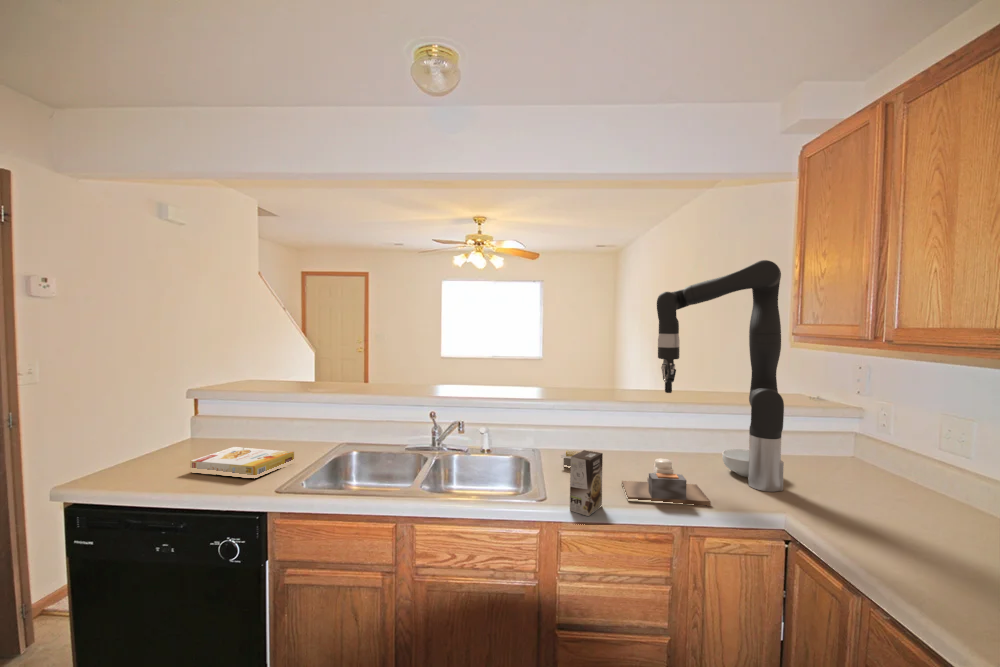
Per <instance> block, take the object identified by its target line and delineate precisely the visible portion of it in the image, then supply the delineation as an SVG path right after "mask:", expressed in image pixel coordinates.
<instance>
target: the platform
mask: <svg viewBox="0 0 1000 667" xmlns="http://www.w3.org/2000/svg"><path fill="white" fill-rule="evenodd" d="M568 452H569V450H567V449H566V451H565V453H563V454H560V458H562V459H563V466H564V465H567V466H571V456H573V455H575V454H577V453H579V452H580V451H575V450H573V451H570V453H568Z"/></svg>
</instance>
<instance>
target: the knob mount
mask: <svg viewBox="0 0 1000 667" xmlns="http://www.w3.org/2000/svg"><path fill="white" fill-rule="evenodd" d="M646 479H647V480H646V481H635V480H633V481H632V480H631V481H630V480H621V485H622V484H623V487H624V489H625V492H626V495H627V497H628V499H638V500H651V501H663V502H673V503H683V504H694V505H693V506H698V505H707V506H706V507H711V506H712V505H711V503H712V502H711V500H710V499H709V497H708V496H707V495H706V493H704V492H703V490H702V489H701V488H700V487H699V486H698V484H697V483H696V484H695V483H692V484H691V483H687V479H686V478H685V476H684V475H683V474H678V473H673V474H664V473H654V472H650V473H648V477H647V478H646ZM623 487H622V488H623ZM625 492H624V493H625ZM626 495H625V496H626Z"/></svg>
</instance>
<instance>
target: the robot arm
mask: <svg viewBox="0 0 1000 667" xmlns="http://www.w3.org/2000/svg"><path fill="white" fill-rule="evenodd" d="M781 272H782V271H781V268H780V267H779V266H778V264H776V262H774V261H771V260H767V259H764V260H763V259H762V260H759V261H756V262H754V263H753V264H751V265H749V266H746V267H744V268H741V269H739V270H737V271H734V272H732V273H729V274H726V275H724V276H718V277H716V278H712V279H709V280H704V281H701V282H697V283H694V284H691V285H688V286H685V288H683V289H679V290H675V291H663V292H661V293H659V295H658V297H657V300H656V312H657V319H658V338H657V358H658V359H661V360H663V362H662V363H661V367H660V368H661V375H662V380H663V381H664V392H665V394H672V393H673V382H674V381H675V377H676V373H677V368H676V364H675V361H674V360H679V359H680V335H679V334H680V324H679V322H680V321H679V320H678V317H677V311H678V310H681V309H683V308H686V307H689V306H693V305H697V304H701V303H705V302H709V301H712V300H715V299H718V298H720V297H722V296H723V297H724V296H726V295H729V294H731V293H735V292H739V291H743V290H749V289H751V292H752V310H751V315H750V321H749V327H748V328H749V331H748V342H749V343H748V345H749V358H750V366H751V379H750V386H749V388H750V389H749V395H748V401H749V402H748V403H749V405H750V410H751V411H750V425H749V428H748V429H749V430H748V431H749V436H748V438H749V439H748V444H749V446H748V450H749V475H748V477H747V478H748V479H747V480H748V481H747V482H748V483H747V484H748V486H749V487H750V488H752V489H755V490H758V491H764V492H771V493H774V492H779V491H784V469H785V468H784V461H783V460H782V432H783V430H784V419H785V418H784V417H785V416H784V415H785V404H784V398H783V397H782V395H781V394H780V393H779V390H778V383H777V370H778V369H777V368H778V365H779V360H780V356H781V351H782V325H781V316H780V309H779V294H780V293H779V290H780V284H781V278H782V273H781Z"/></svg>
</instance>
